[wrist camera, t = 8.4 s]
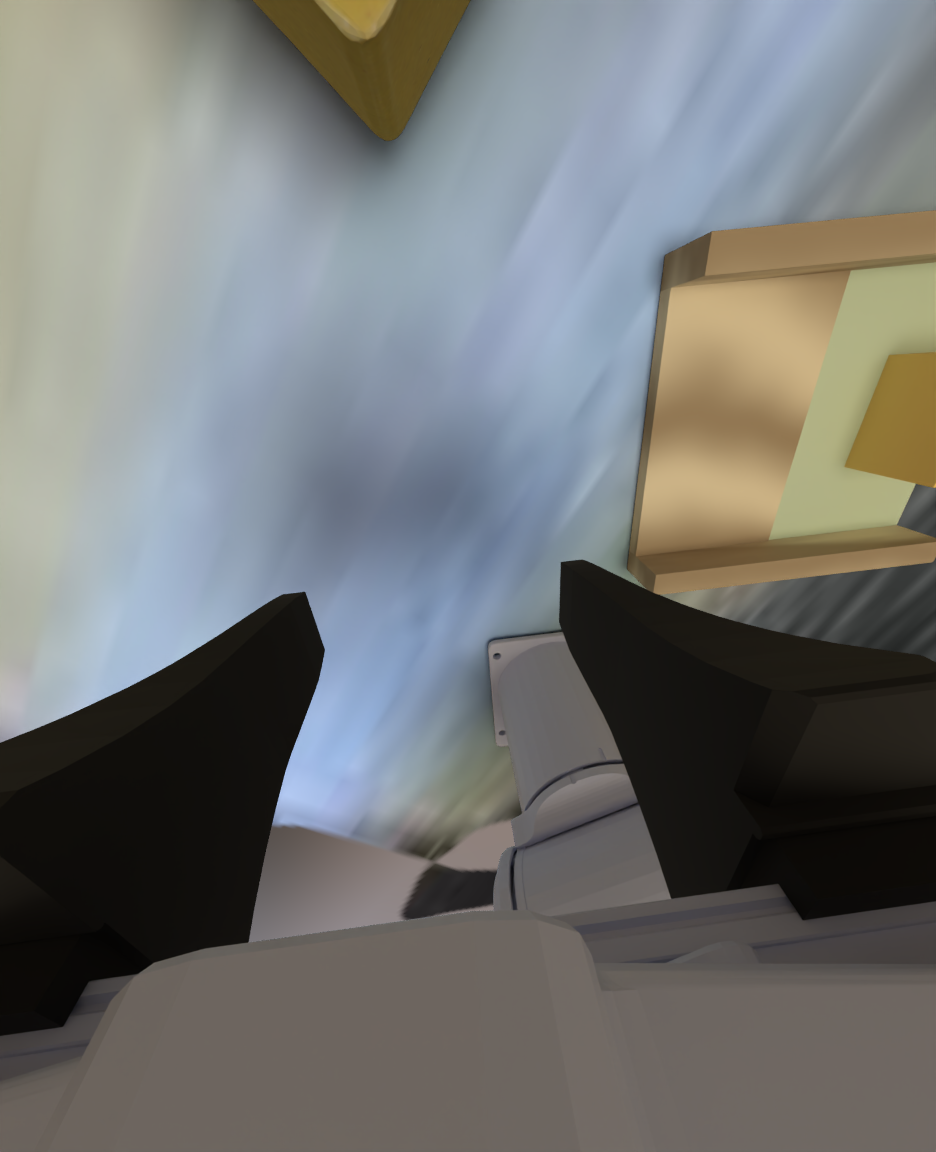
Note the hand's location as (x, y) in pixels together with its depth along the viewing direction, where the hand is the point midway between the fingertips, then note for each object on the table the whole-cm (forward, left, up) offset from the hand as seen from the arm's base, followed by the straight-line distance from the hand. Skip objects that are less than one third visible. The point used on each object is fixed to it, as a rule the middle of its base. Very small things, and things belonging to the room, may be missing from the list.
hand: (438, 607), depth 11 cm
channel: (+2, -18, -10) cm, 21 cm away
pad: (+2, -22, -10) cm, 24 cm away
